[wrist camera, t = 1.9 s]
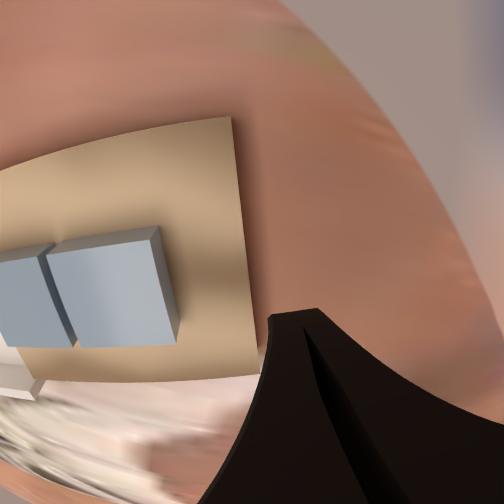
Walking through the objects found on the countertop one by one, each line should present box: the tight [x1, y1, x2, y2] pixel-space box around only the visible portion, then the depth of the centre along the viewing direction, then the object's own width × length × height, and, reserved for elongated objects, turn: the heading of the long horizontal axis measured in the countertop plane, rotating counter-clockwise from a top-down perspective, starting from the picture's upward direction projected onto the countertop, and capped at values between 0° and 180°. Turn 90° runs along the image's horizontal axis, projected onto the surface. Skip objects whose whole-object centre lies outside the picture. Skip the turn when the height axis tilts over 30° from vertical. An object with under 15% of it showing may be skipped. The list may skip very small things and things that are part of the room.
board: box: [0, 116, 260, 383], centre depth 14 cm, size 12×14×2 cm
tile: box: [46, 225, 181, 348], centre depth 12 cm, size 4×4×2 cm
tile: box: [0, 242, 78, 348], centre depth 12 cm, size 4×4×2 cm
